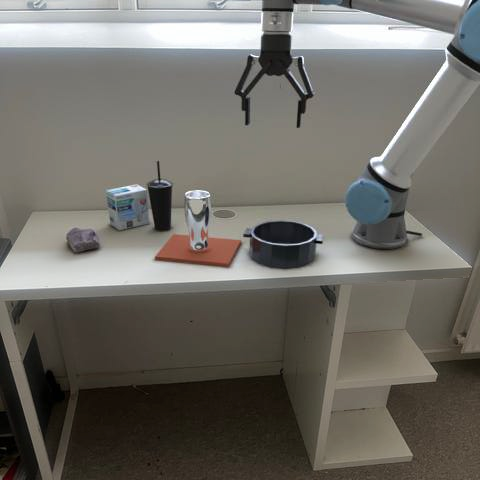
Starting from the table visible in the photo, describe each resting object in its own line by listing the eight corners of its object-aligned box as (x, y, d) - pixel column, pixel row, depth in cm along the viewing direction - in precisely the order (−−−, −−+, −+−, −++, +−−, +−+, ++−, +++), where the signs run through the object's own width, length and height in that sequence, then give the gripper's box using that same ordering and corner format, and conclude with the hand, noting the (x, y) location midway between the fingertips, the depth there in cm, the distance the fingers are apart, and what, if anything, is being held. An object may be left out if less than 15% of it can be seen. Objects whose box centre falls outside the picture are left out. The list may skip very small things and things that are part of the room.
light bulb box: (119, 231, 151) (115, 195, 145) (109, 224, 155) (104, 190, 150) (150, 223, 157) (147, 189, 151) (140, 217, 161) (136, 183, 155)
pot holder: (241, 243, 144) (241, 240, 143) (228, 267, 131) (228, 263, 130) (174, 237, 147) (173, 233, 147) (155, 259, 134) (154, 256, 134)
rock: (91, 235, 148) (89, 220, 145) (103, 249, 139) (101, 234, 137) (63, 241, 144) (60, 226, 142) (74, 256, 136) (71, 240, 133)
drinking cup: (171, 233, 150) (166, 165, 139) (146, 231, 151) (140, 163, 140) (178, 224, 156) (175, 158, 145) (155, 222, 157) (149, 157, 147)
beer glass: (188, 254, 135) (186, 199, 127) (184, 244, 141) (181, 191, 133) (214, 251, 136) (213, 197, 128) (209, 242, 142) (208, 189, 134)
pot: (323, 245, 143) (325, 223, 140) (318, 272, 129) (321, 248, 125) (250, 238, 147) (251, 217, 143) (238, 264, 132) (238, 241, 129)
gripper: (222, 32, 121) (223, 125, 132) (327, 34, 117) (319, 130, 128) (229, 31, 128) (229, 120, 139) (329, 33, 123) (321, 125, 134)
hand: (272, 125), depth 133 cm, fingers open, 13 cm apart
